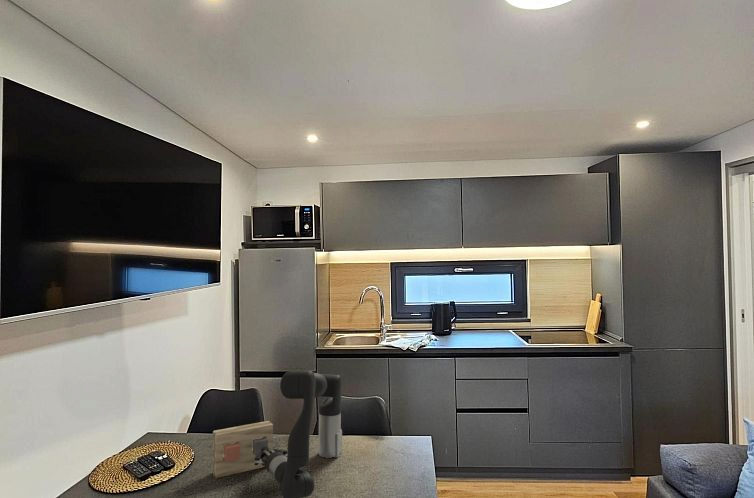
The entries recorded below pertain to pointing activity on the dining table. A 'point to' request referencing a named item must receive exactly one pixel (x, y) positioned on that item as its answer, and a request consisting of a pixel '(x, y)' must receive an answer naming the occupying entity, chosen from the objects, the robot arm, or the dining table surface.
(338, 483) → the dining table surface
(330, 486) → the dining table surface
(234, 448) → the brick red key
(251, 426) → the key panel
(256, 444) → the graphite key
